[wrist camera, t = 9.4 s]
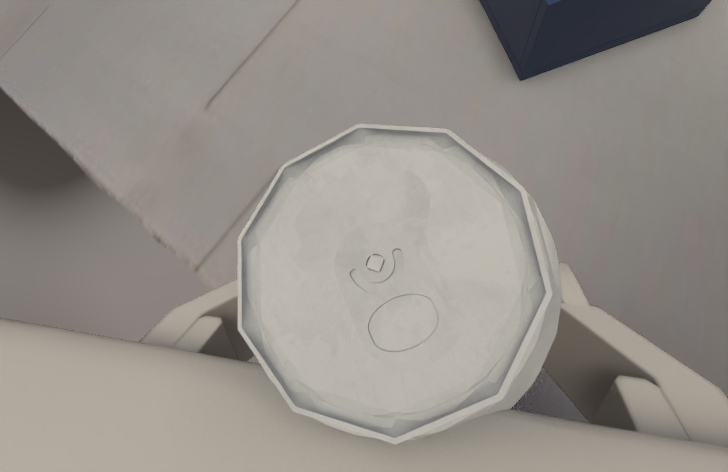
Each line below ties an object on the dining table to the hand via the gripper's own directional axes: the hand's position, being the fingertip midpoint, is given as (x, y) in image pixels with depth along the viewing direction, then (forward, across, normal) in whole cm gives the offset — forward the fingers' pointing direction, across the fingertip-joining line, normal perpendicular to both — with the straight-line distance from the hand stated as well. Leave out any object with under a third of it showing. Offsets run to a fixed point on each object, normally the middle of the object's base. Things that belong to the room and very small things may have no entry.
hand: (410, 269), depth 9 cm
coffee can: (+4, 0, +5) cm, 7 cm away
